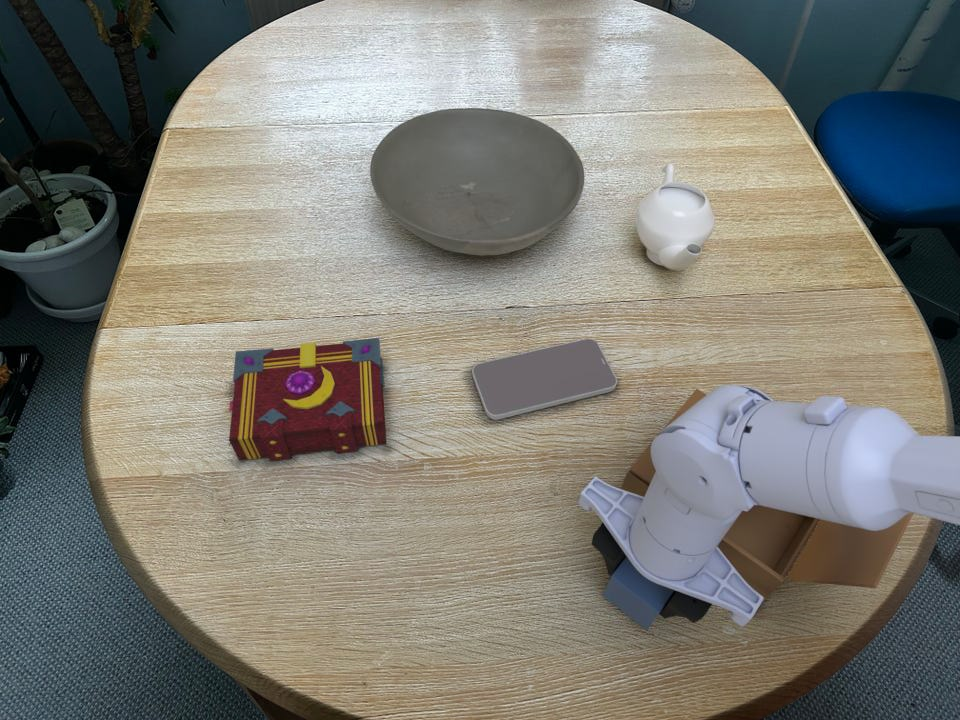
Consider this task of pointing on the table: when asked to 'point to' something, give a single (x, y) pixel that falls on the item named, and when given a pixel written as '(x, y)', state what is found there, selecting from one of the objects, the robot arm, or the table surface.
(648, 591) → the block
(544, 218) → the bowl
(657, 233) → the teapot
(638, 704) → the table surface
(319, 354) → the decorative book
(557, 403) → the smartphone
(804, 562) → the flap
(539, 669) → the table surface
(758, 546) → the carton
